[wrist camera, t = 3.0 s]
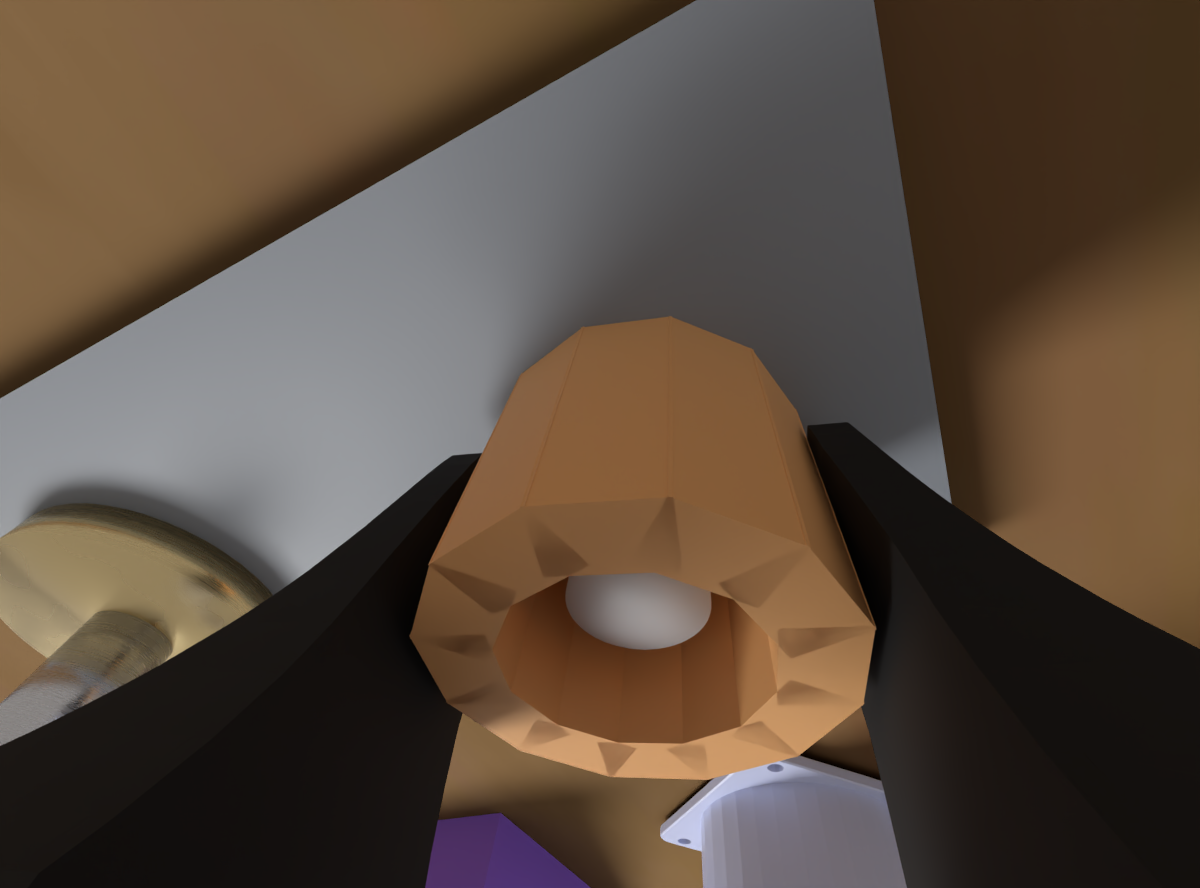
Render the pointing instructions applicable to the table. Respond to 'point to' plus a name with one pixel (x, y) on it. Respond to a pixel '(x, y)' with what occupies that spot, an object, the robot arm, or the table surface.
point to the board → (520, 301)
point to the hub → (108, 603)
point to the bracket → (492, 857)
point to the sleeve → (648, 563)
